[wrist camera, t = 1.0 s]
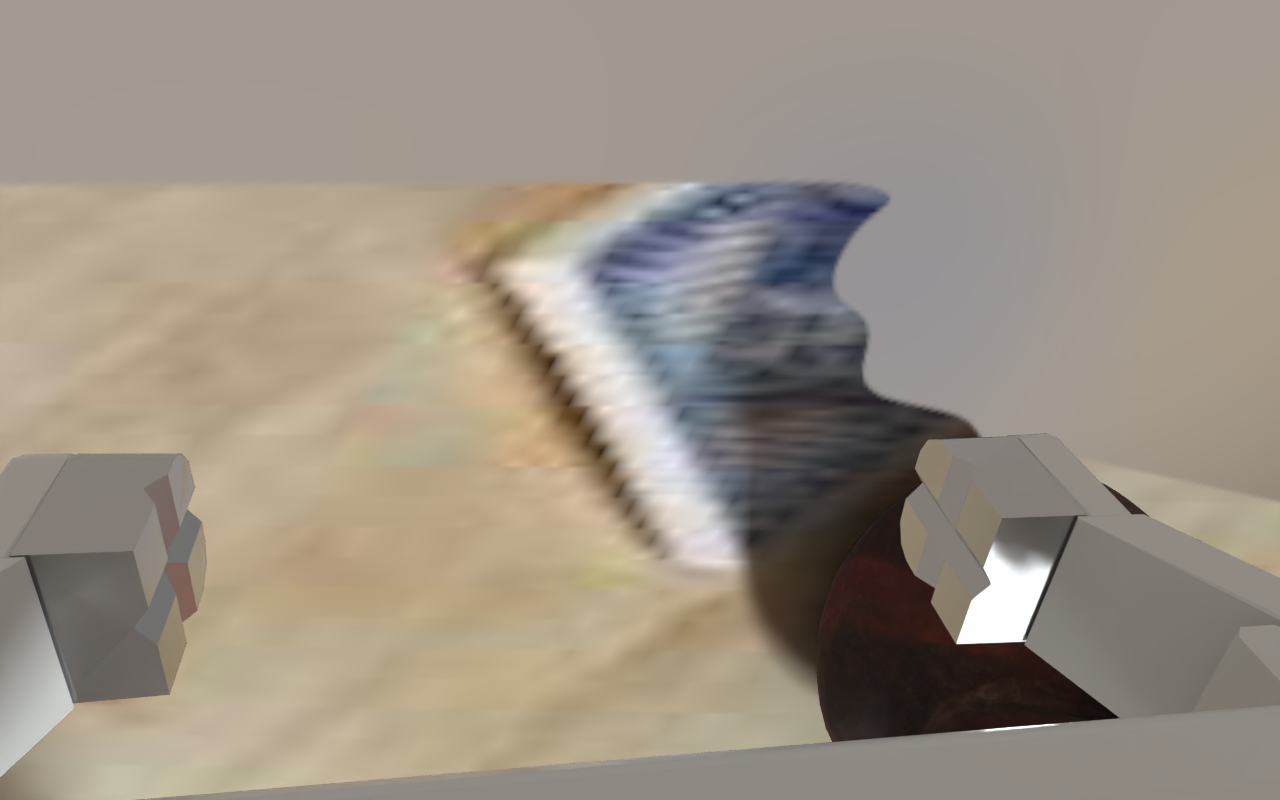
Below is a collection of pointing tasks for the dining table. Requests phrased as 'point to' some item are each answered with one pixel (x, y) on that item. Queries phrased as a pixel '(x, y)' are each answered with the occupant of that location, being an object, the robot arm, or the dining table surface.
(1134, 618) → the robot arm
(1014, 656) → the jug
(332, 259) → the dining table surface
